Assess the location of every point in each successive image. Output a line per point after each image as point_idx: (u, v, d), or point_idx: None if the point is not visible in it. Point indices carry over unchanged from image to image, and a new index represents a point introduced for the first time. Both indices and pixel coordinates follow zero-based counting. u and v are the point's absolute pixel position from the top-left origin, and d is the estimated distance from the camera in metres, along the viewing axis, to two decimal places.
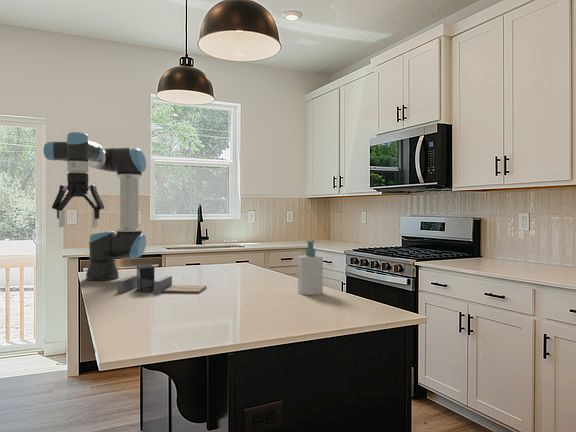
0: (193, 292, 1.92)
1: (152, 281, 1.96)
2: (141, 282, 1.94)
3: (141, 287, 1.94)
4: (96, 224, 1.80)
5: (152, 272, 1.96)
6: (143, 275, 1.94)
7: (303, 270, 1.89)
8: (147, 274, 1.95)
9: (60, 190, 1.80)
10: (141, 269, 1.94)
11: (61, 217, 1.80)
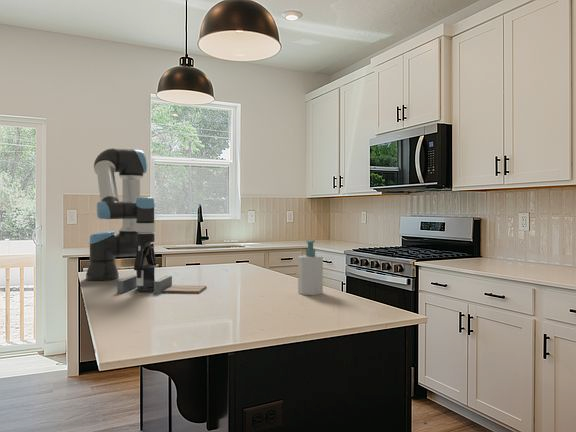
0: (193, 292, 1.92)
1: (152, 281, 1.96)
2: None
3: (141, 287, 1.94)
4: (140, 283, 1.93)
5: (152, 272, 1.96)
6: (143, 275, 1.94)
7: (303, 270, 1.89)
8: (147, 274, 1.95)
9: None
10: None
11: None
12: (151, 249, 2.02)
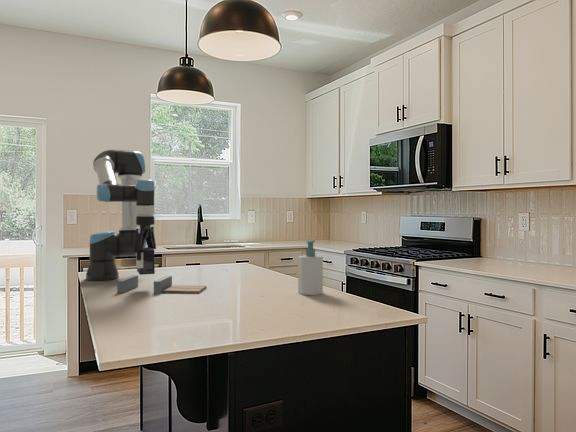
0: (193, 292, 1.92)
1: (152, 263, 1.96)
2: None
3: (141, 269, 1.94)
4: (140, 265, 1.93)
5: (152, 254, 1.96)
6: (143, 258, 1.94)
7: (303, 270, 1.89)
8: (147, 257, 1.95)
9: None
10: None
11: None
12: (151, 232, 2.02)
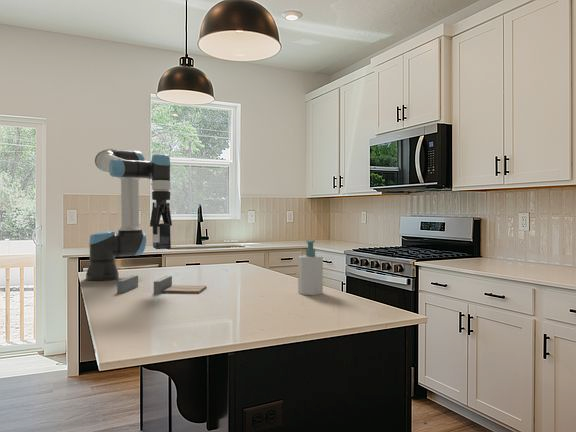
0: (193, 292, 1.92)
1: (168, 238, 1.94)
2: None
3: (157, 244, 1.93)
4: (157, 239, 1.91)
5: (168, 229, 1.94)
6: None
7: (303, 270, 1.89)
8: (163, 231, 1.93)
9: None
10: None
11: None
12: (167, 207, 2.00)
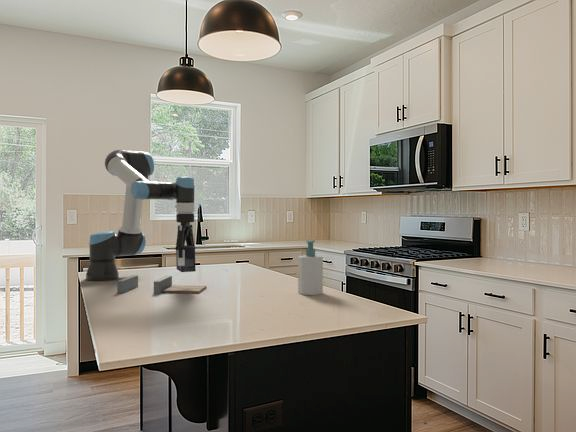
0: (193, 292, 1.92)
1: (193, 261, 1.94)
2: None
3: (182, 267, 1.92)
4: (182, 262, 1.91)
5: (193, 252, 1.94)
6: None
7: (303, 270, 1.89)
8: (188, 254, 1.93)
9: None
10: None
11: None
12: (191, 229, 2.00)
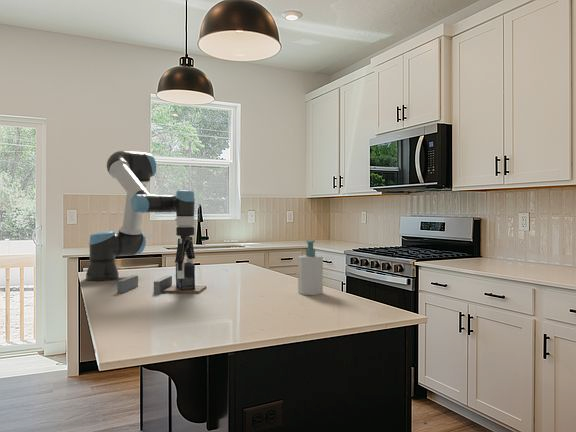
0: (193, 292, 1.92)
1: (192, 279, 1.94)
2: (181, 280, 1.92)
3: (182, 285, 1.92)
4: (181, 275, 1.91)
5: (192, 270, 1.94)
6: (184, 273, 1.93)
7: (303, 270, 1.89)
8: (188, 272, 1.93)
9: None
10: None
11: None
12: (191, 242, 2.01)
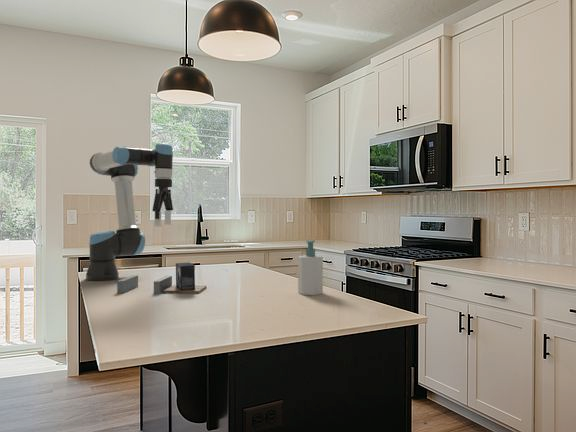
0: (193, 292, 1.92)
1: (192, 279, 1.94)
2: (181, 280, 1.92)
3: (182, 285, 1.92)
4: (158, 223, 2.03)
5: (192, 270, 1.94)
6: (184, 273, 1.93)
7: (303, 270, 1.89)
8: (188, 272, 1.93)
9: None
10: (182, 267, 1.92)
11: (166, 216, 2.17)
12: (168, 194, 2.12)
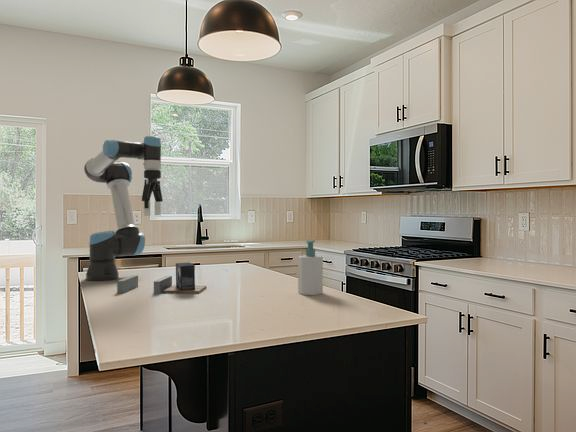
0: (193, 292, 1.92)
1: (192, 279, 1.94)
2: (181, 280, 1.92)
3: (182, 285, 1.92)
4: (148, 213, 2.09)
5: (192, 270, 1.94)
6: (184, 273, 1.93)
7: (303, 270, 1.89)
8: (188, 272, 1.93)
9: None
10: (182, 267, 1.92)
11: (155, 207, 2.22)
12: (158, 185, 2.18)
